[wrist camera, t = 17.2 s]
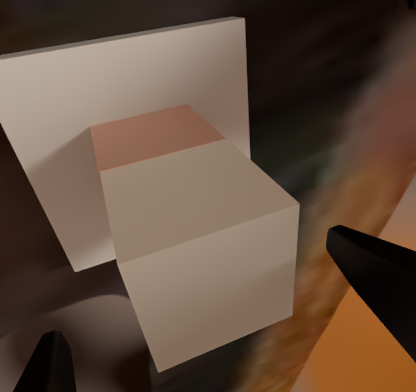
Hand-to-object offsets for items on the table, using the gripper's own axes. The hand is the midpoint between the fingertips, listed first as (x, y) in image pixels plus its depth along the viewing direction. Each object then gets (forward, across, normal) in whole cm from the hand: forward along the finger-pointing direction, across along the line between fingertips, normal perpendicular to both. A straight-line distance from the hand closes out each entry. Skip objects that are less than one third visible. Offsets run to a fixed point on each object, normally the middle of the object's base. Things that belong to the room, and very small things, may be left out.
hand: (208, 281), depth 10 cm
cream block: (+4, 0, 0) cm, 4 cm away
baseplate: (+11, 0, 0) cm, 11 cm away
